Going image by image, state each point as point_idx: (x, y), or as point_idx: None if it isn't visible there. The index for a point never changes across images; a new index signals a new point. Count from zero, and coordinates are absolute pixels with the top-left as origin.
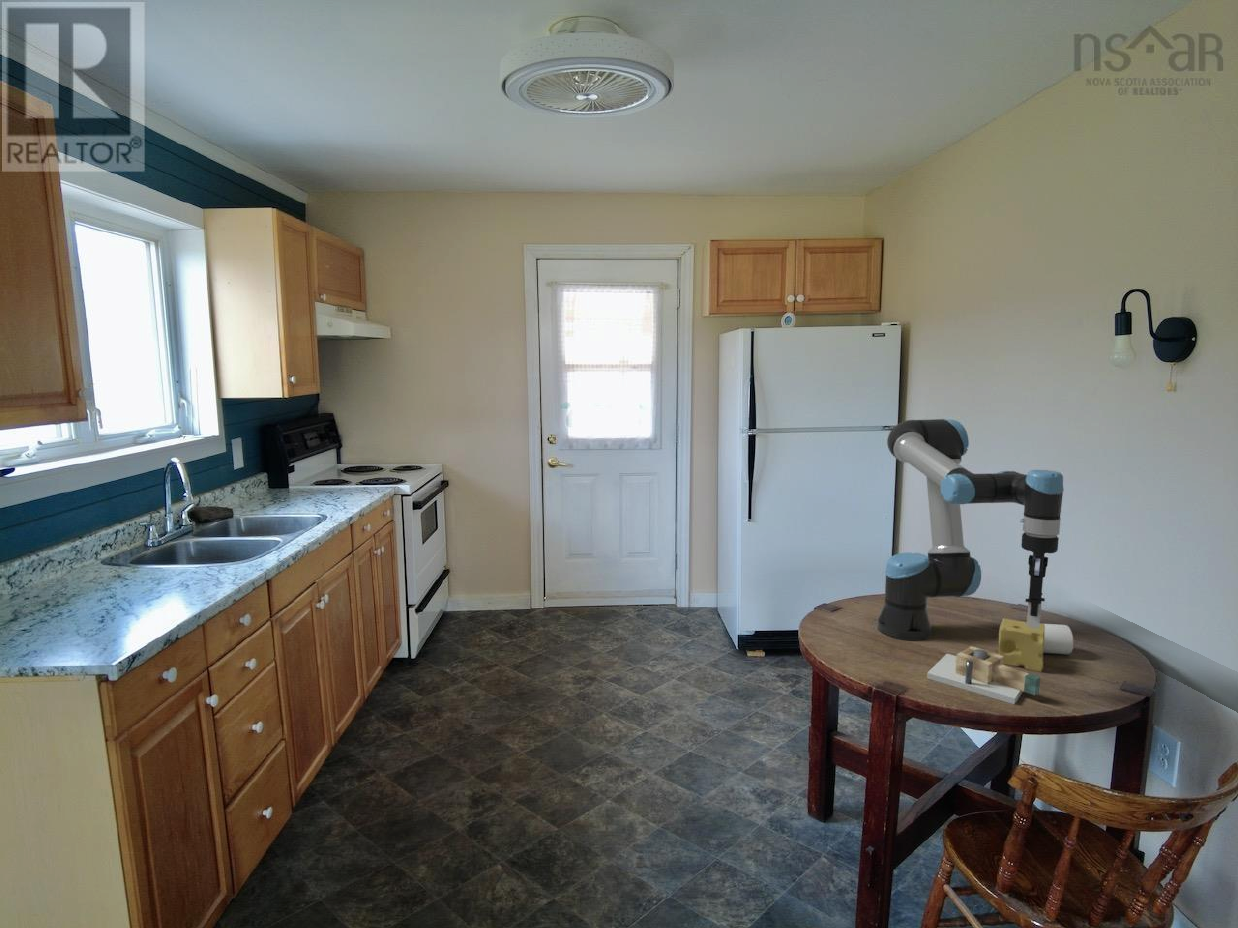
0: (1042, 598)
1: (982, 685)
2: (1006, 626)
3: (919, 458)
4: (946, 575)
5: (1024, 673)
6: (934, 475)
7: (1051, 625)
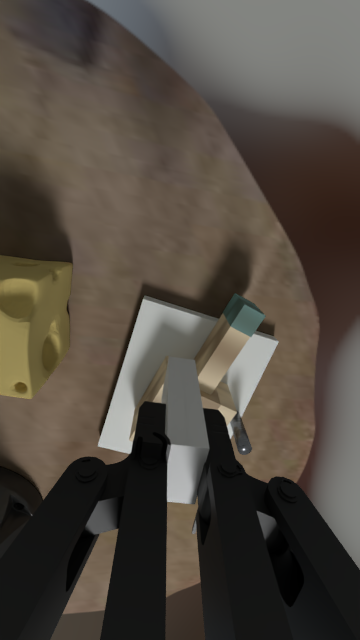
0: (143, 453)
1: (235, 392)
2: None
3: None
4: None
5: (234, 336)
6: None
7: None
